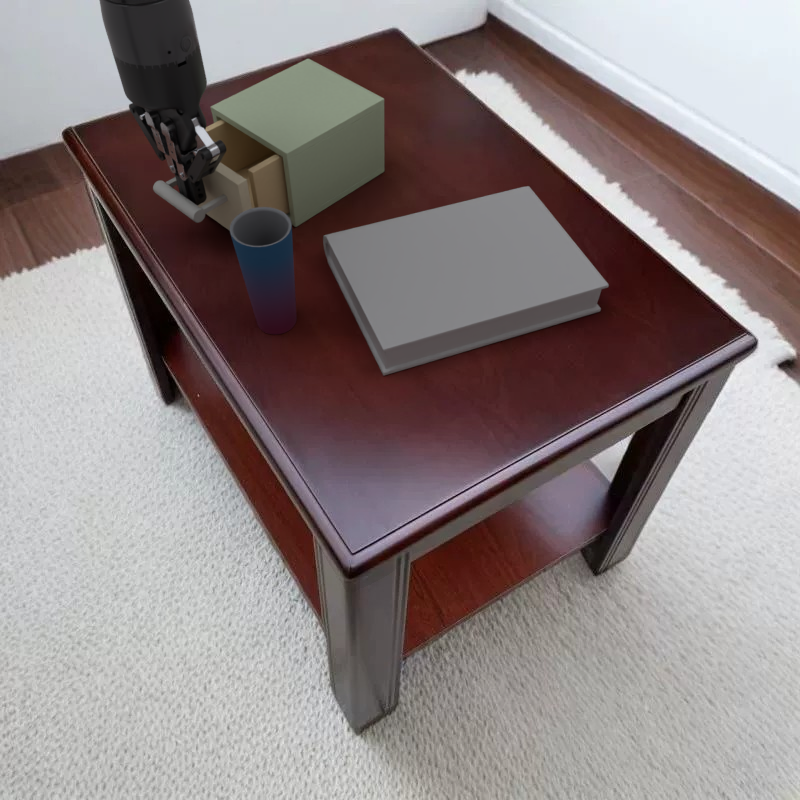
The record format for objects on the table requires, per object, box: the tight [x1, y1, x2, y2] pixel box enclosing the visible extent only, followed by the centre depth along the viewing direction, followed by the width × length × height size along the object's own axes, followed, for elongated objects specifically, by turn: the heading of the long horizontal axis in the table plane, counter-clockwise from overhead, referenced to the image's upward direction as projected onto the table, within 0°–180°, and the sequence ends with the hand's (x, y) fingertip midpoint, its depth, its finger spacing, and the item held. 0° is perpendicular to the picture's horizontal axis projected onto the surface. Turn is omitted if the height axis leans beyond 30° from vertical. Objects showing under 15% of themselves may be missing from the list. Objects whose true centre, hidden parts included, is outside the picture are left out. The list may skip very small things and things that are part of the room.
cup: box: [229, 207, 298, 335], centre depth 69 cm, size 6×5×12 cm
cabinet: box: [210, 58, 385, 228], centre depth 85 cm, size 15×13×10 cm
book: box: [322, 185, 610, 377], centre depth 76 cm, size 18×4×24 cm
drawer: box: [152, 119, 290, 232], centre depth 81 cm, size 18×11×8 cm, turn 137°
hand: (195, 201), depth 78 cm, fingers closed
